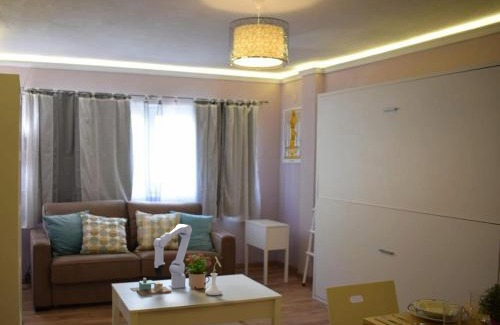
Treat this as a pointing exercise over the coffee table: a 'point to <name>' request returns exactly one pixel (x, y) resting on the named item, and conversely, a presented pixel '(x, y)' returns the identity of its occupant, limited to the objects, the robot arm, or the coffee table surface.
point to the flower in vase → (213, 288)
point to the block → (158, 286)
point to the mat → (134, 289)
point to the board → (153, 291)
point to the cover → (145, 284)
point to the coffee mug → (208, 278)
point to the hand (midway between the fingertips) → (158, 276)
